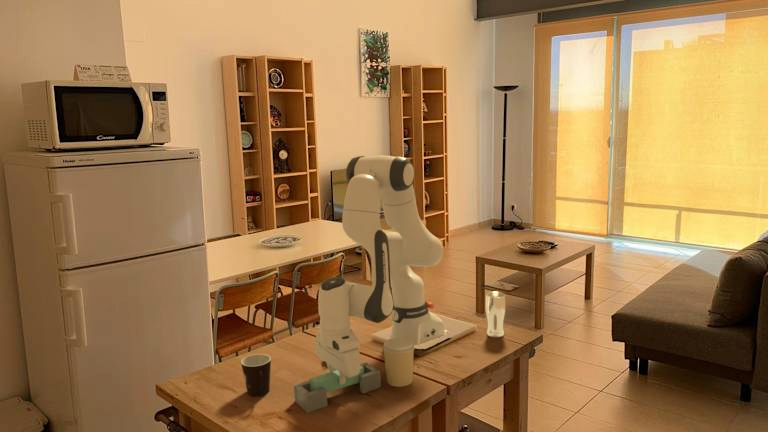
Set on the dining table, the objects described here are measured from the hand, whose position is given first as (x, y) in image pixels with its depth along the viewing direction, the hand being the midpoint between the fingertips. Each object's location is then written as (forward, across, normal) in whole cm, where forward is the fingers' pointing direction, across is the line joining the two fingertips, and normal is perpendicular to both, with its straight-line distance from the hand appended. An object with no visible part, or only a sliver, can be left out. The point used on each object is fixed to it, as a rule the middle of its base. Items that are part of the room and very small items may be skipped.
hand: (337, 380), depth 170 cm
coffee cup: (+5, +4, +19) cm, 20 cm away
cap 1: (+4, 0, -9) cm, 10 cm away
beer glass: (+4, -4, +67) cm, 67 cm away
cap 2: (+4, 0, +9) cm, 10 cm away
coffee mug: (+5, -15, -19) cm, 25 cm away
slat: (+2, 0, 0) cm, 2 cm away
